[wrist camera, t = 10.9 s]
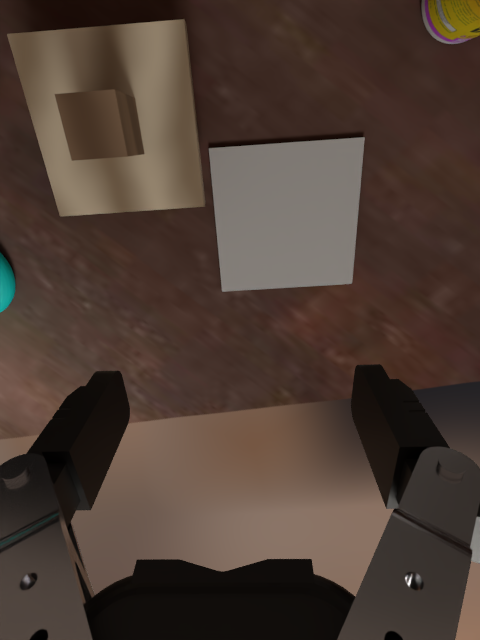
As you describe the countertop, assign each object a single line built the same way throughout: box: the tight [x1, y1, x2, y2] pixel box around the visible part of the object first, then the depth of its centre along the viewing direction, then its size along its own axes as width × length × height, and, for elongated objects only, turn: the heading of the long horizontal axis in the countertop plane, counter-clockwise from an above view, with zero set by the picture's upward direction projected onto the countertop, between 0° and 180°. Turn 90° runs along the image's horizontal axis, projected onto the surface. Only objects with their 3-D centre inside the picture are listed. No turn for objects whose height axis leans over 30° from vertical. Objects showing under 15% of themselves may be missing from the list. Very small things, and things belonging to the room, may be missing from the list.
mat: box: [209, 137, 365, 292], centre depth 37 cm, size 15×15×1 cm
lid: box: [7, 19, 205, 216], centre depth 27 cm, size 13×13×6 cm
